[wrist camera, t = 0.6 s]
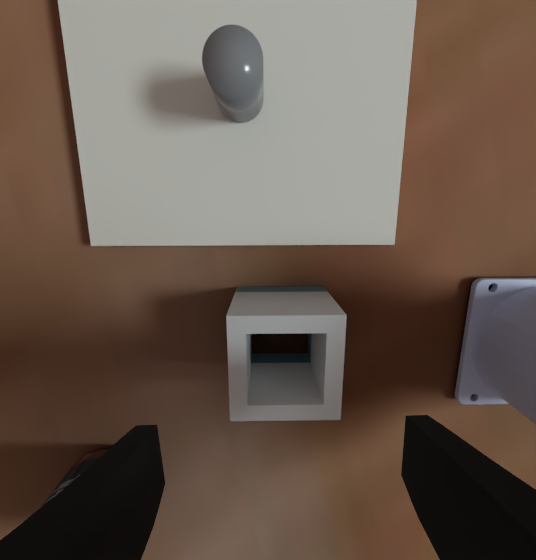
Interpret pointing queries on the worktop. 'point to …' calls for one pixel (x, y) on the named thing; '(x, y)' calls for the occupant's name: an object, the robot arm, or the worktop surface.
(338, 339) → the sleeve
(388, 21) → the pin board
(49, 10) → the worktop surface
